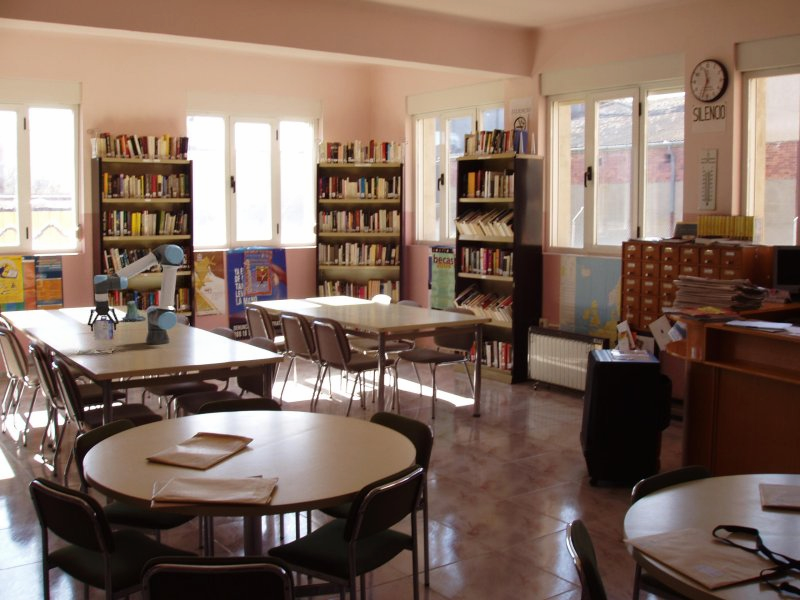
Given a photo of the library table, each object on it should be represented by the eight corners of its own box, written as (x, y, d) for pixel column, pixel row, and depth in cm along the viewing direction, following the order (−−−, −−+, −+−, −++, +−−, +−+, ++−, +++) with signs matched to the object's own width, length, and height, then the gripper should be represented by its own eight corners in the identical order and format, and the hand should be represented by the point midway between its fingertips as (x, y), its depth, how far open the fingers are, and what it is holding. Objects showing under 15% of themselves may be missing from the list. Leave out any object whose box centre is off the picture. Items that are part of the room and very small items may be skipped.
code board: (113, 349, 532) (113, 349, 532) (111, 353, 519) (111, 352, 519) (79, 351, 528) (79, 350, 527) (76, 354, 514) (76, 354, 514)
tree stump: (152, 319, 675) (149, 298, 669) (138, 329, 657) (135, 307, 651) (132, 317, 680) (129, 296, 674) (117, 327, 662) (114, 305, 656)
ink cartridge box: (114, 339, 526) (112, 315, 524) (109, 340, 520) (107, 316, 519) (99, 338, 528) (98, 315, 526) (94, 340, 522) (93, 316, 521)
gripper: (122, 298, 527) (124, 333, 530) (82, 300, 522) (84, 336, 524) (121, 300, 520) (123, 335, 523) (81, 302, 514) (83, 338, 517)
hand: (104, 336), depth 524 cm, fingers closed on ink cartridge box, 11 cm apart
